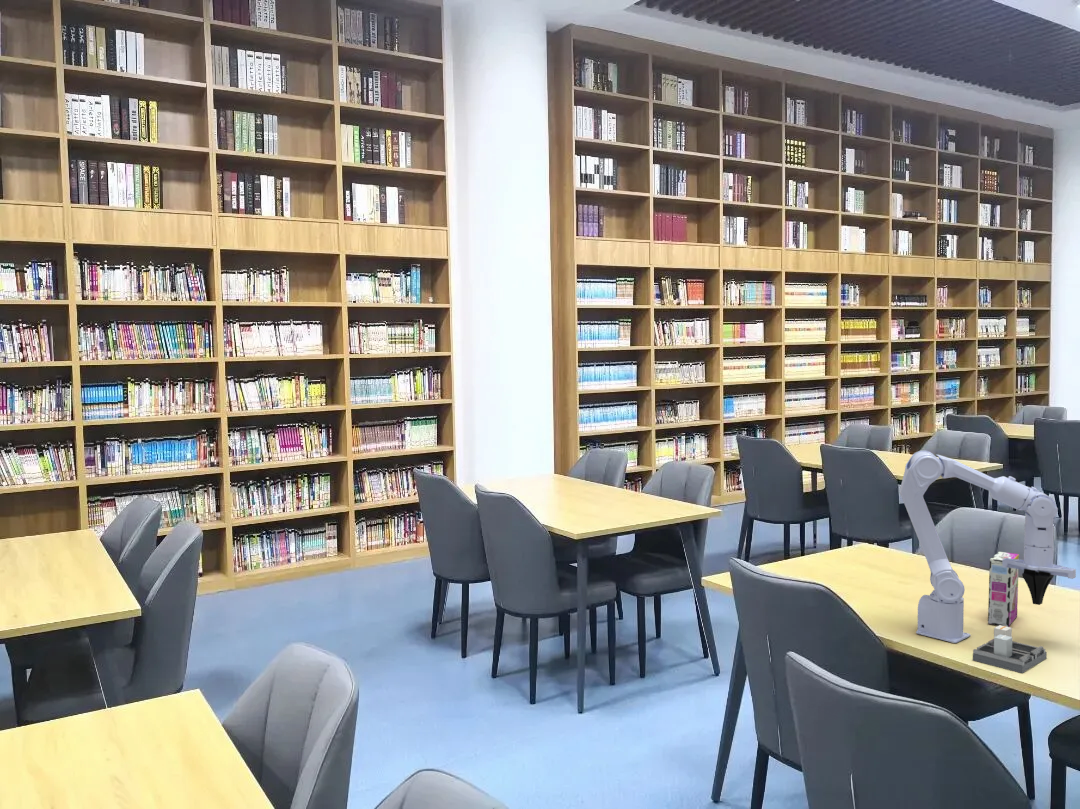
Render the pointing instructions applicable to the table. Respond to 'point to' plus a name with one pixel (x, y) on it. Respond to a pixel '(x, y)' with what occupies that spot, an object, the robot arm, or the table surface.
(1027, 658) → the grey divided tray
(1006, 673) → the table surface
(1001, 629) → the fader
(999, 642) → the block
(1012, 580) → the candy bar box
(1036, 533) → the robot arm
